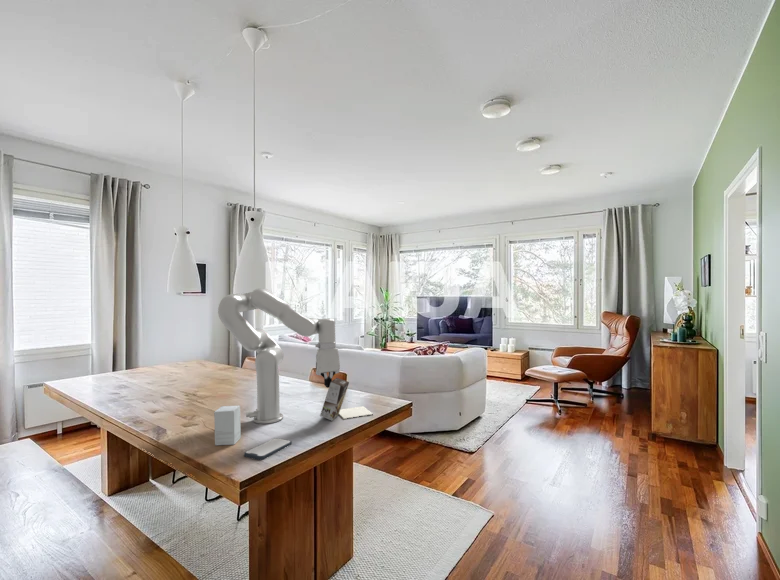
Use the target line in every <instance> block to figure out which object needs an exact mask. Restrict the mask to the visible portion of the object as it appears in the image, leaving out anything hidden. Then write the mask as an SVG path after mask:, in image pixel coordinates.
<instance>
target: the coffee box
mask: <svg viewBox="0 0 780 580" xmlns="http://www.w3.org/2000/svg"><path fill="white" fill-rule="evenodd" d="M349 383H350V381H347V380H344V379H341V378H339V377H336V378H334V379H332V381H331V383H330V386H329V387H328V388H327V393H326V397H325V399H324V401H323V406H322V408H321V410H320V414H319V416H320V417H322V418H324V419H327V420H329V421H331V422H333V421H334V420H335V419H336V418H337V417H338V416H340V415H339V412H340V410H341V409H342V406H343V403H344V400H345V396H346V393H347V390H348V386H349Z"/></svg>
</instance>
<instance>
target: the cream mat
mask: <svg viewBox="0 0 780 580" xmlns="http://www.w3.org/2000/svg"><path fill="white" fill-rule="evenodd" d="M372 414H373V415H374V413H373V412H371V411H370V410H369V409H368V408H366V407H365V406H362V405H361V406H356V407H349V408H341V409H340V412H339V415H338V416H340V418H341V419H342V420H348V419H347V418H351V419H354V418H353V417H357V418H360V417H359V416H363V417H366V416H365V415H370V416H373V415H372Z"/></svg>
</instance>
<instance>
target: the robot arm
mask: <svg viewBox="0 0 780 580" xmlns="http://www.w3.org/2000/svg"><path fill="white" fill-rule="evenodd" d="M217 309H218V310H217V314H218V317H219V319H220V322H221V323H222V324H223V326H224V327H225V329H227V330H228V332H229V333H230V334H231V335H232V336H233V337H234V338H235V339H236V341H237V342H238V343H239V344H240V345H241V347H242V348H244V350H246V351H247V352H256V353H257V355H256V356H255V361H254V363H255V364H254V365H255V366H254V367H255V372H256V402H257V403H256V409H255V410H253V411H252V412H250V411H249V412H246V413H245V416H246V417H245V418H250V419H253V423H256V424H260V425H263V424H265V425H266V424H273V423H277V422H280V421H281V420H283V418H284V414H283V413H281V412H280V411H281V409H280V373H279V365H280V364H281V363H282V362H283V361H284V351H283V349H282V348H281V346H280V345H279V344H278V343H277V342H276V341H275V339H273V337H271V335H270V334H269V333H268V332H266V331H265V330H264V329H261V328H254V327H253V326H252V325H251V324H250V322H249V321H248V320H247V319H246V318H245V317H244V316H242V315H241V313H244V312H249V311H252V310H253V311H255V310H258V309H259V310H260V311H262V312H264V313H265V314H267V315H269V316H271V317H272V318H274V319H276V320H278V321H279V323H282V324H283V326H285V327H287V328H288V329H290V330H292V331H293V332H294V333H296V334H298V335H300V336H302V337H307V338H308V337H309V338H310V337H311V336H313V335H318V342H317V343H316V344H315V348H317V350H316V356H315V375H317V376H320V377H322V378H323V380H324V381H323V382H324V383H323V384H324V387H325V388H327V389H329V386H330V383H331V381H333V379H332V378H333V377H334V376H335V375H336V374H339V373H340V369H341V367H340V366H341V365H340V363H341V362H340V355H339V349H338V348H337V347H336V346H337V345H336V321H335V319H334V318H307V317H305V316H304V315H302V314H301V313H299V312H298V311H295V310H294V308H293V307H291V305H290V304H289V303H288V302H287V301H284V300H283V299H281V298H280V297H278V296H276V295H274V294H273V292H272V291H271V290H270V289H267V288H256V289H254V290H252V291H249V292H246V293H245V292H243V293H239V294H238V293H231V294H227V295H225V296H223V298H222V299H221V300H220V301H219V303H218V308H217ZM327 373H328V374H327Z"/></svg>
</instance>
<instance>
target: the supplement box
mask: <svg viewBox="0 0 780 580" xmlns="http://www.w3.org/2000/svg"><path fill="white" fill-rule="evenodd" d="M213 414H214V417H213V418H214V421H213V422H214V446H228V445H229V446H231V445H233V446H234V445H236V443H238V441H239V440H240V439H241V438H242V434H241V433H242V432H241V430H242V429H241V427H242V426H241V405H221V406H220V407H218V409H216V410H215V411H214V412H213Z"/></svg>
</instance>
